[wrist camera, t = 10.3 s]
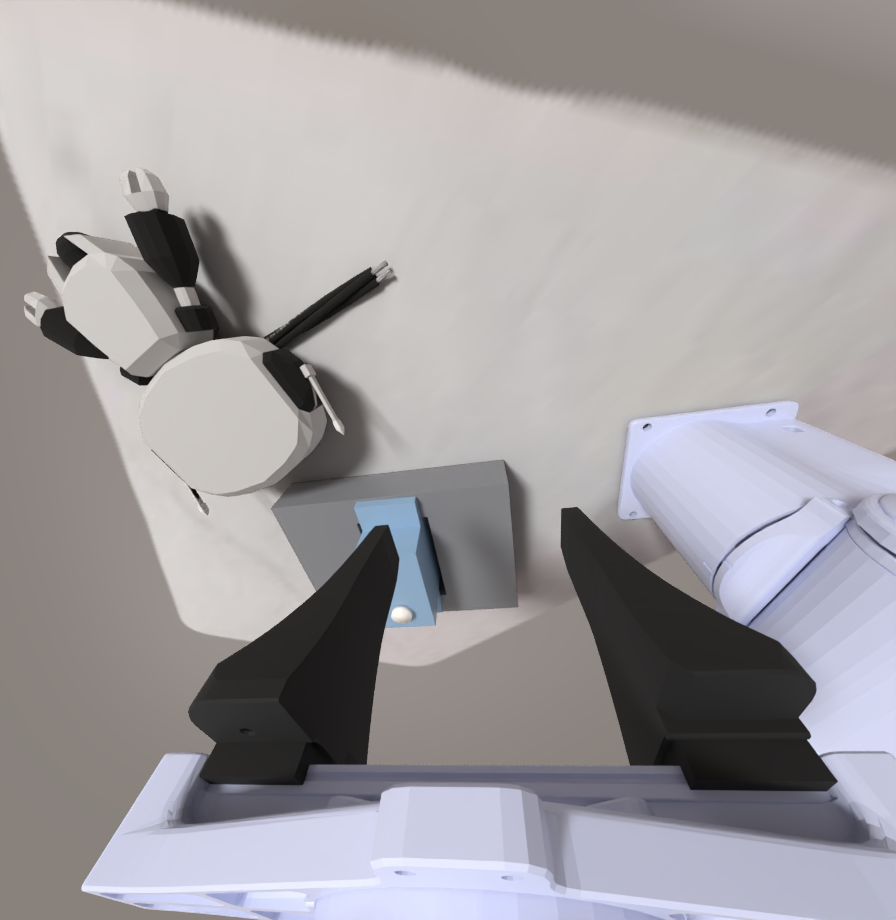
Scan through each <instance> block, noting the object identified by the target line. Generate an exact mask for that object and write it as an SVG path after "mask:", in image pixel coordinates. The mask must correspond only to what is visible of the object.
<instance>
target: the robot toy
mask: <svg viewBox="0 0 896 920" xmlns="http://www.w3.org/2000/svg"><path fill="white" fill-rule="evenodd" d="M135 172H136V173H135ZM135 172H132V171H130V170H127V171H123V173H122V174H121V176H120V177H119V179H120V184H121V188H122V192H123V196H124V197H125V198H126V200H127V201H128V202H129V203H130V204H131V205H132V206H133V208H134V209H135V210H136V211H137V212H136V213H130V214H128V215H126V216H124V217H125V219H126V221H127V223H128V226H129V228H130V230H131V233H132V235H133V237H134V239H135V242H136V244H137V246H138V248H139V249H137V248H136V247H135V246H133V245H132V244H131V243H126V242H121V241H115V240H110V239H104V238H98V237H93V236H89V235H86V234H83V233H80V232H67V233H64V234H63V235H62V236H61V237H59V238H58V239H57V241H56V248H57V254H58V255H59V257H53V256H48V275H49V277H50V279H51V280H52V282H53V283H54V285H55V287H56V288H57V290H58V291H59V293H60V295H61V296H62V300H63V306H62V307H61V306H60V305H59V304H58V303H57V301H56V300H54V299H51V298H49V297H46V296H44V295H41V294H39V293H36V292H32V293H29V294H26V295H25V298H24V299H25V301H26V302H27V303H28V304H30V305H31V306H24V310H25V315H26V317H27V318H28V319H29V320H30V321H32V322H33V323H34V324H35V325H36V326H38V327H40V328H41V330H42V332H43V335H44V336H45V337H47V338H48V339H50V340H52V341H54V342H55V343H57V344H59V345H61V346H62V347H64V348H66V349H68V350H69V351H71V352H73V353H74V354H76V355H80V356H87V357H93V358H101V359H110V360H111V361H113V362H115V363H116V364H118V365H119V366H120V372H121V375H122V376H124V377H126V378H128V379H129V380H131V381H133V382H134V383H136V384H138V385H148V386H147V388H146V390H145V392H144V394H143V396H142V399H141V402H140V406H139V421H140V427H141V431H142V436H143V441H144V443H145V444H146V445H148V446H149V447H150V448H151V450H152V451H153V452H154V453H155V454H156V455H157V456H158V457H159V458H160V459H161V460H162V461H163V462H164V463H165V464H166V465H167V466H168V467H169V468H170V469H171V470H172V471H173V472H174V473H175V474H177V475H178V476H179V477H180V478H181V480H182V481H183V483H184V484H185V486H186V488H187V489H188V491H189V492H190V494H191V496H192V497H193V499H194V500H195V502H196V503H197V505H198V506H197V507H198V509H199V511H200V512H201V513H203V514H205V515H207V516H208V513H209V508H208V507H207V505H206V503H203V501H202V499H201V498H200V496H199V495H198V493H197V491H196V490H199V491H202V492H205V493H209V494H212V495H219V496H227V497H229V496H238V495H243V494H248V493H252V492H254V491H257V490H260V489H263V488H266V487H268V486H271V485H274V484H276V483H277V482H279V481H280V480H281V479H282V478H283V477H284V476H285V475H287V474H288V473H289V472H290V471H291V470H292V469H293V468H294V467H296V466H297V465H298V464H299V463H300V462H301V461H302V460H303V459H305V458H306V457H307V456H308V455H309V454H310V453H311V452H312V451H313V450H314V448H315V447H316V446H317V445H318V443H319V442H320V441H321V439H322V437H323V435H324V431H325V428H326V424H327V419H326V415H325V411H324V407H323V405H324V406H325V408H326V410H327V412H328V413H329V415H330V417H331V419H332V420H333V425H334V426H335V428H336V430H337V431H338V432H340V433H342V434H343V435H344V426H343V424H342V422H341V421H340V420H339V419H338V418H337V416H336V414H335V412H334V410H333V409H332V407H331V405H330V403H329V402H328V400H327V398H326V396H325V394H324V393H323V391H322V389H321V387H320V386H319V384H318V382H317V380H316V379H315V377H314V376H316V373H315V371H314V370H313V368H312V366H311V365H308V364H304V363H303V362H302V361H301V360H300V359H299V358H298V357H296V356H295V355H294V354H292V353H291V352H290V351H289V350H288V349H287V348H281V349H279V348H277V347H276V346H275V345H273V344H272V343H270V342H269V341H267V340H266V339H264V338H260V337H250V336H241V337H233V338H226V339H218V340H213V330H215V329H219V327H218V324H217V321H216V319H215V316H214V314H213V311H212V309H211V308H209V307H207V306H205V305H201V304H200V301H199V299H198V296H197V294H196V291H195V289H194V286H195V282H196V279H197V273H198V267H199V258H198V255H197V253H196V250H195V247H194V245H193V242H192V239H191V237H190V234H189V231H188V229H187V226H186V223H185V221H184V219H181V218H179V217H177V216H175V215H171V214H168V201H169V196H168V194H167V192H166V190H165V189H164V187H163V185H162V183H161V182H160V180H159V178H158V177H157V176H156V175H154V174H153V173H151V172H150V171H148V170H147V169H142V168H137V169H135ZM195 489H196V490H195Z"/></svg>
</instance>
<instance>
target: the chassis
mask: <svg viewBox="0 0 896 920" xmlns="http://www.w3.org/2000/svg"><path fill="white" fill-rule="evenodd" d="M405 497H416V500H417V504H418V508H419V512H420V516H421V518H422V517H428V521H429V525H430V529H431V533H432V537H433V541H434V545H435V549H436V553H437V557H438V562H439V566H440V581H439V592H440V596H441V600H442V604H443V610H442V611H459V610H476V609H494V608H512V607H518V597H517V584H516V572H515V560H514V547H513V535H512V522H511V510H510V497H509V485H508V479H507V475H506V470H505V465H504V460H496V461H488V462H479V463H470V464H461V465H452V466H443V467H435V468H426V469H417V470H408V471H399V472H390V473H382V474H373V475H364V476H355V477H346V478H337V479H329V480H320V481H311V482H302V483H293V484H291V485H290V487H289V488H288V489H287V490H286V491H285V492H284V494H283V495H282V496H281V497H280V498H279V499H278V501H277V502H276V503H275V504H274V505H273V506H272V508H271V510H272V511H273V513H274V515H275V517H276V519H277V521H278V522H279V524H280V526H281V528H282V530H283V532H284V533H285V535H286V537H287V539H288V541H289V543H290V544H291V546H292V548H293V550H294V552H295V554H296V555H297V557H298V559H299V561H300V563H301V564H302V566H303V568H304V570H305V572H306V574H307V575H308V577H309V579H310V581H311V583H312V585H313V586H314V588H315V590H316V591H317V590H318V589H319V588H321V587H322V586H323V585H324V584H325V583H326V582H327V581H328V580H329V578H330V577H331V576H332V575H333V574H334V573H335V572H336V571H337V570H338V569H339V568H340V567H341V566H342V564H343V563H344V562H345V561H346V560H347V559H348V558H349V556H350V555H351V554H352V553H353V552H354V550H355V548H356V546H357V544H358V541H359V539H360V536H361V534H362V528H361V526H360V523H359V520H358V518H357V515H356V512H355V510H354V506H355V504H356V502H364V501H374V500H384V499H395V498H405Z"/></svg>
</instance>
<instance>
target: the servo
mask: <svg viewBox="0 0 896 920" xmlns="http://www.w3.org/2000/svg"><path fill="white" fill-rule="evenodd" d="M354 510H355V512H356V515H357V518H358V520H359V523H360V526H361V528H362V534H361V536H360V539H359V541H358V544H357V546H356V548H357V547H358V546H359V544H360V543H361V542H362V541H363V540H364V538H365V537H366V536H367V535H368V533H369V532H370V531H371V530H372V529H373V528H374V526H379V525H389V528H390V531H391V534H392V537H393V540H394V543H395V546H396V549H397V552H398V555H399V558H400V560H399V569H398V576H397V583H396V587H395V591H394V595H393V599H392V603H391V607H390V610H389V614H388V618H387V622H386V626H385V628H395V627H416V626H436V615H437V612H442V610H443V604H442V600H441V596H440V592H439V581H440V566H439V562H438V557H437V553H436V549H435V545H434V541H433V537H432V533H431V529H430V525H429V521H428V517H422V518H421V516H420V512H419V508H418V504H417V500H416V497H405V498H395V499H384V500H374V501H364V502H356V504H355V506H354ZM356 548H355V549H356Z"/></svg>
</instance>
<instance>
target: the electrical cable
mask: <svg viewBox="0 0 896 920" xmlns="http://www.w3.org/2000/svg"><path fill="white" fill-rule="evenodd" d="M386 265H387V262H386V260H385V261H384V262H382V263H381V264H379V265H377V266H375V267H374V268H372V269H371V267H370V268H368V269H367V270H365V271H363V272H362V273H360V274H358V275H357V276H355V277H353V278H352V279H350V280H349V281H347V282H346V283H344V284H343V285H340V286H339V287H337V288H336V289H335V290H333V291H331V292H330V293H328V294H327V295H325V296H324V297H322V298H321V299H320V300H318V301H317V302H315V303H314V304H313V305H311V306H310V307H308V308H307V309H306V310H304V311H303V312H301V313H300V314H299V315H297V316H296V317H294V318H293V319H292V320H290V321H289V322H288V323H286V324H285V325H284V326H282V327H280V328H279V329H277V330H275V331H274V332H272V333H270V334H269V335H267V336H265V337H264V339H266V340H267V341H269V342H270V343H272V344H273V345H275V346H276V347H277V348H279V349H281V348H282V347H283V346H285V345H286V344H288V343H289V342H290V341H292V340H293V339H295V338H296V337H297V336H299V335H300V334H302V333H304V332H306V331H308V330H310V329H311V328H313V327H315V326H316V325H318V324H320V323H321V322H323V321H325V320H326V319H328V318H330V317H331V316H333V315H334V314H336V313H338V312H339V311H341V310H342V309H344V308H346V307H347V306H349V305H350V304H352V303H353V302H355V301H356V300H358V299H359V298H361V297H362V296H364V295H365V294H367V293H368V292H370V291H371V290H372V289H374V288H375V287H377V286H378V285H379V282H380V281H381V280H383V279H384V278H385V277H387V276H388V275H389V274H391V273H392V272H391V270H387V271H386V272H385V273H383V274H382V275H380V276H379V277H377V278H376V276H375V274H376V273H377V272H378V271H379V270H381V269H382V268H383V267H384V266H386Z"/></svg>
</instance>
